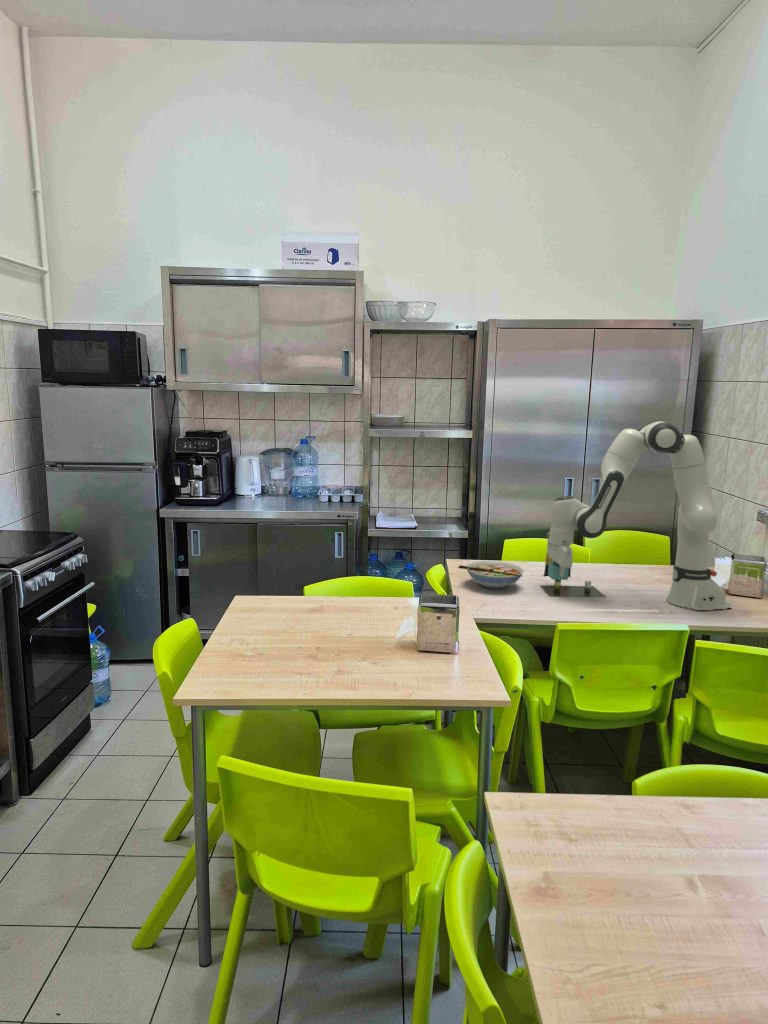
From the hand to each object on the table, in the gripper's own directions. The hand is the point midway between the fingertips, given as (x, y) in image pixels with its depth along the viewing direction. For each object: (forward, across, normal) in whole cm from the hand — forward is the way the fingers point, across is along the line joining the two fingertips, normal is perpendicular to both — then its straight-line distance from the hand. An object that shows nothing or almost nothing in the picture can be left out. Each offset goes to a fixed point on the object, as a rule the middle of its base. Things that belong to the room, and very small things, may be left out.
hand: (558, 573), depth 262 cm
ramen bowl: (+8, +8, +23) cm, 26 cm away
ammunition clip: (+8, +22, -7) cm, 25 cm away
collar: (+2, 0, 0) cm, 2 cm away
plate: (+8, 0, -6) cm, 10 cm away
